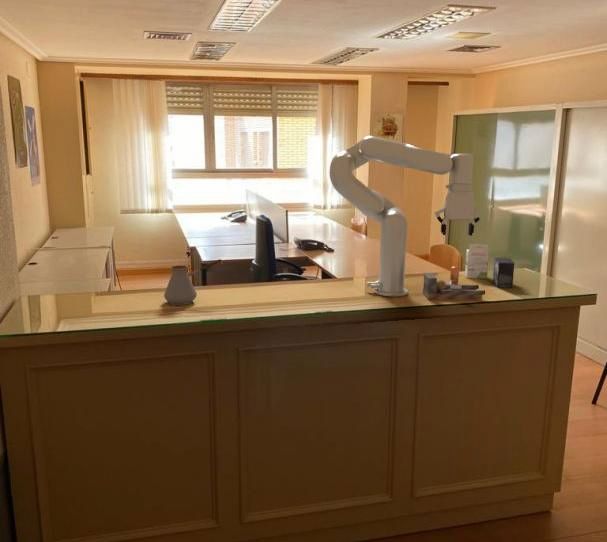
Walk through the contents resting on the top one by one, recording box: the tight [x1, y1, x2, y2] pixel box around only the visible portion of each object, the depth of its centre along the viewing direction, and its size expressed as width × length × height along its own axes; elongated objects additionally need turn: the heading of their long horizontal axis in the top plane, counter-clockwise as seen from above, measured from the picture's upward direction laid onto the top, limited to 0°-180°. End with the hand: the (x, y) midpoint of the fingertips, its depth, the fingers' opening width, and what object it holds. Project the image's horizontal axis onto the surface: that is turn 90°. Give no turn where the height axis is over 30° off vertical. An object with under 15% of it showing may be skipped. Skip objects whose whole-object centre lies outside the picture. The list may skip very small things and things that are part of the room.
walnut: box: [436, 279, 447, 292], centre depth 222 cm, size 4×4×4 cm
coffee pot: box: [163, 258, 224, 306], centre depth 213 cm, size 21×12×15 cm, turn 108°
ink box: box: [464, 243, 490, 279], centre depth 252 cm, size 9×5×15 cm, turn 84°
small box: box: [492, 256, 516, 289], centre depth 240 cm, size 11×6×10 cm, turn 172°
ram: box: [446, 265, 462, 290], centre depth 222 cm, size 4×6×9 cm, turn 0°
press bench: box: [422, 272, 486, 301], centre depth 222 cm, size 21×9×8 cm, turn 90°
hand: (456, 234), depth 220 cm, fingers open, 9 cm apart
